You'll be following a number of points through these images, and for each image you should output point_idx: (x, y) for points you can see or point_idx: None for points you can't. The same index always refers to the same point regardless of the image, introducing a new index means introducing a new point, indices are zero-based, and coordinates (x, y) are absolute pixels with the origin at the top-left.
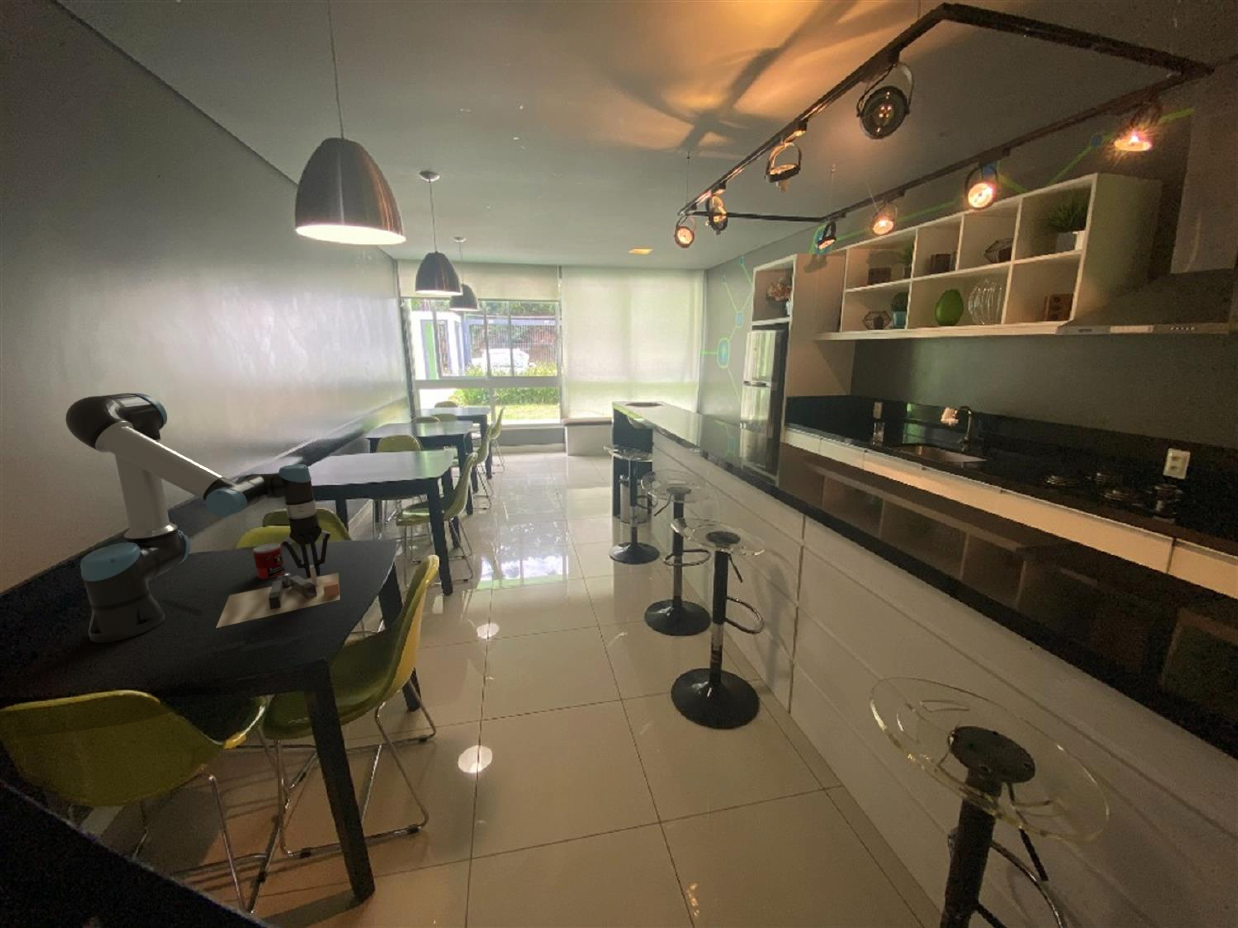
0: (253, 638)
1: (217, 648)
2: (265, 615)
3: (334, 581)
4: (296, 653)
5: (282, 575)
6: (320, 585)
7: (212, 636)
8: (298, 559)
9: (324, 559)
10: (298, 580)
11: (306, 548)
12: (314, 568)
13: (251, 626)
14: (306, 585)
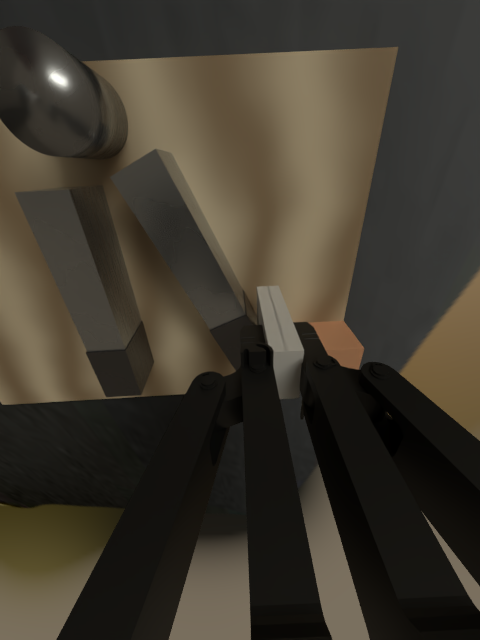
0: (135, 447)
1: (72, 454)
2: None
3: (348, 354)
4: (233, 501)
5: (36, 118)
6: (279, 228)
7: (18, 410)
8: (209, 489)
9: (387, 430)
10: (183, 259)
11: (307, 565)
12: (295, 392)
13: (102, 401)
14: (234, 346)
